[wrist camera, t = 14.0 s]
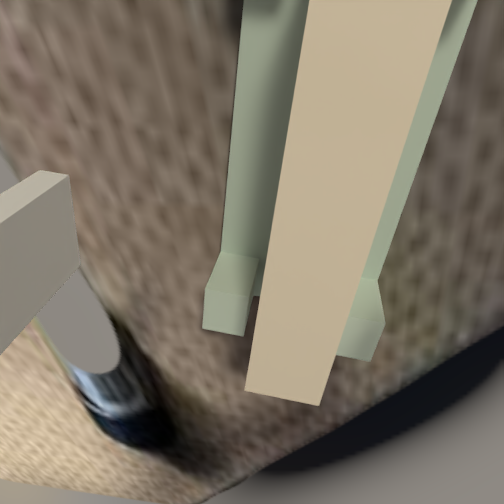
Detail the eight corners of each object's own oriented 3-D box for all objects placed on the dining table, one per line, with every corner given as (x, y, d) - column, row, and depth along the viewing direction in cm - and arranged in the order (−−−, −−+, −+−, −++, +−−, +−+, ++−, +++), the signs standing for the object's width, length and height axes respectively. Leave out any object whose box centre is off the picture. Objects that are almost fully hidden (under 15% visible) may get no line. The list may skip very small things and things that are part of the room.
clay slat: (320, 289, 26) (318, 406, 19) (267, 279, 27) (244, 390, 19) (429, -121, 16) (529, -237, 8) (338, -132, 16) (352, -255, 8)
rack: (363, 307, 28) (370, 361, 24) (220, 280, 28) (202, 328, 24) (524, -156, 15) (600, -216, 11) (264, -186, 16) (243, -252, 12)
